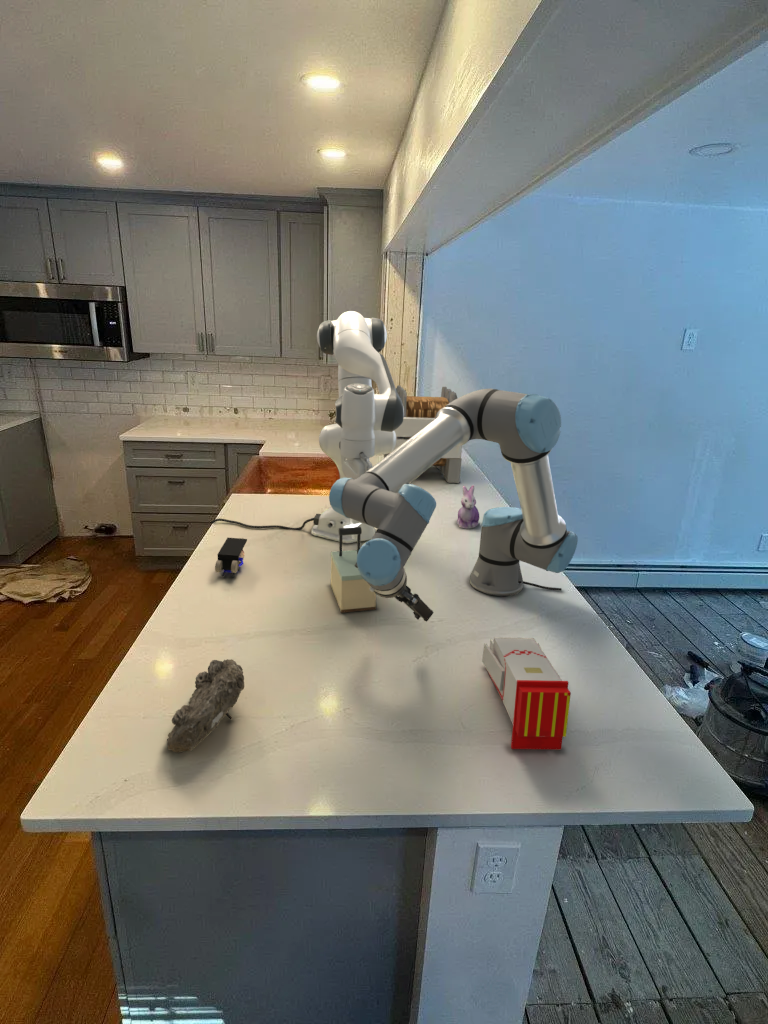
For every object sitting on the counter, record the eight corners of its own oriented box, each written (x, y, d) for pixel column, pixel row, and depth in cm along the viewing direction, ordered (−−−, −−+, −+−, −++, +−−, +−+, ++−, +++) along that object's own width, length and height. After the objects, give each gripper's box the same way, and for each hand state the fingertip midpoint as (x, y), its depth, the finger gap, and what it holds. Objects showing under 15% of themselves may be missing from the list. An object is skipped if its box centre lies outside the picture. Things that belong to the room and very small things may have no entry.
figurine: (465, 531, 205) (469, 491, 200) (449, 521, 213) (452, 483, 208) (486, 527, 209) (490, 488, 204) (470, 518, 217) (473, 481, 212)
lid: (330, 555, 158) (331, 524, 155) (363, 553, 160) (364, 522, 157) (341, 581, 144) (342, 547, 141) (376, 578, 146) (378, 544, 143)
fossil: (192, 660, 117) (244, 628, 112) (224, 691, 120) (276, 661, 115) (142, 746, 98) (202, 712, 93) (182, 779, 101) (242, 748, 96)
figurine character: (238, 584, 162) (249, 557, 175) (236, 562, 158) (247, 536, 172) (215, 584, 161) (227, 556, 175) (212, 561, 158) (225, 535, 171)
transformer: (382, 463, 289) (386, 382, 275) (445, 464, 293) (451, 384, 279) (390, 482, 257) (394, 392, 243) (460, 483, 261) (468, 394, 247)
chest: (330, 585, 161) (331, 556, 158) (362, 583, 163) (363, 554, 160) (341, 612, 147) (341, 581, 144) (375, 609, 149) (376, 578, 146)
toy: (531, 620, 128) (580, 688, 99) (526, 675, 131) (572, 757, 101) (478, 619, 128) (511, 687, 98) (474, 674, 130) (505, 756, 101)
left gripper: (380, 457, 139) (378, 510, 143) (359, 439, 157) (358, 487, 162) (355, 458, 137) (354, 512, 142) (337, 440, 155) (336, 488, 160)
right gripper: (326, 553, 114) (345, 574, 134) (425, 631, 107) (429, 641, 127) (350, 524, 115) (365, 550, 135) (449, 600, 108) (449, 615, 128)
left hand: (356, 499), depth 152 cm, fingers open, 8 cm apart
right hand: (396, 594), depth 131 cm, fingers open, 13 cm apart
